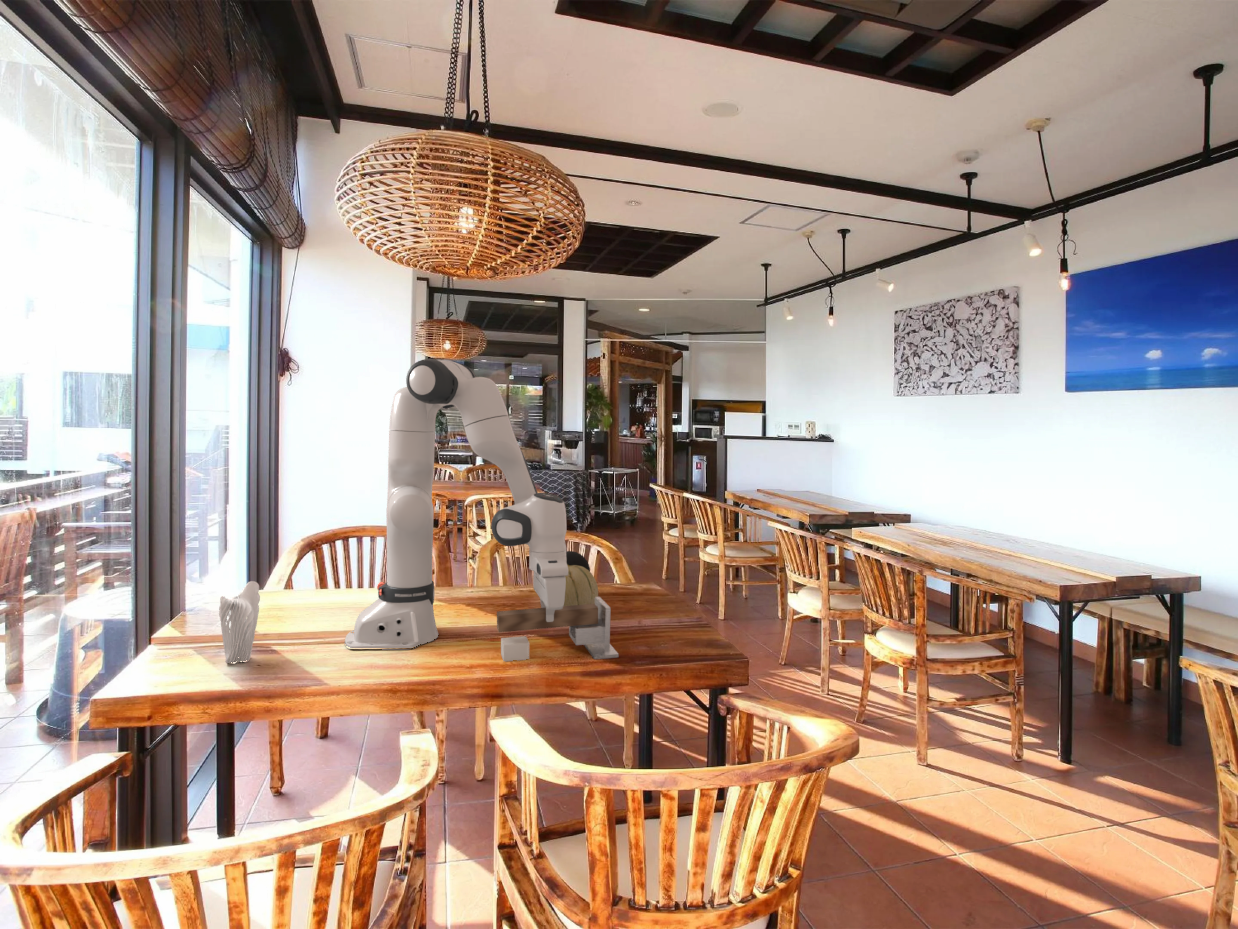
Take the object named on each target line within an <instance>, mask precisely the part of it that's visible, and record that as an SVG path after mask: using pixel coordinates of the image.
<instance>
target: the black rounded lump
mask: <svg viewBox="0 0 1238 929" xmlns="http://www.w3.org/2000/svg"><path fill="white" fill-rule="evenodd" d="M566 558H567V565H570V566H572V565H577V566H582V567H584V568H586V569H587V570H589V571H590V572H591V567H590V564H589V562H588V560H587V559H586V558H585V557H584V556H583V555H582V554H581V553H579V552H577V551H573V550H566Z"/></svg>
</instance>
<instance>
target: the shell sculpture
mask: <svg viewBox="0 0 1238 929" xmlns="http://www.w3.org/2000/svg"><path fill="white" fill-rule="evenodd" d="M259 591H260V584H259V583H258V582H257V581H255V580H251V581H248V582H247V583H246V585H245V586H244V587H243V589H242V590H241V592H240V593H239V594H238V595H236V596H234V597H225V596H223V595H222V596H220V600H219V602H220V603H219V608H218V610H219V611H218V612H219V613H218V616H219V620H220V628H221V634H222V644H223V649H224V656H225V663H226V664H227V663H231V662H232V663H233V662H236V661H237V662H238V661H239V662H240V661H242V662H243V661H246V660H247V662H249V661H248V660H250V659H251V655H252V649H253V645H254V640H255V635H256V628H257V625H258V618H259V613H260V612H259V611H260V605H259V603H260V600H261V595H260V593H259ZM238 657H239V658H238Z"/></svg>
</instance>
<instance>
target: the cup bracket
mask: <svg viewBox="0 0 1238 929" xmlns="http://www.w3.org/2000/svg"><path fill="white" fill-rule="evenodd" d="M595 605H596V606H597V607H598V624H590V625H579V626H568V636H569V637H570V639H571V641H573V643H574V644H575V646H582V645H583V646H584V647H585V649H586V650H587V651H588V653H589V654H590V655H591V657H592V658H593V659H594V660H603V659H604V660H605V659H615V658H619V652H618V651H617V650H616V649H615V648H614V647H613V645H612V644H611V606H609V605H608V604H607V602H606V601H605V600H603V599H602V597H601V596H598V597H595Z"/></svg>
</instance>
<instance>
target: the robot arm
mask: <svg viewBox="0 0 1238 929" xmlns="http://www.w3.org/2000/svg"><path fill="white" fill-rule="evenodd" d="M405 379H406V380H405V382H406V383H405V384H406V386H404V387H402V388H400V389H399V390H397V391H396V392H395V394H394V396H393V400H392V404H391V410H390V416H389V417H390V418H389V428H388V429H389V430H388V456H387V457H388V460H387V463H388V464H387V466H388V468H387V471H388V472H387V498H386V500H387V501H386V502H387V503H386V582H383V581H380V582H378V583H377V585H376V586H377V587H376V589H377V591H378V592H377V596H378V597H377V600H375V601H374V602H373V603H371V604H370V605H369V606H367V607H366V608H364V609H363V610H362V611H361V612H360V613H359V614H358V616H357V618H356V620H355V624H354V629H353V630H351V631H350V632H348V633H347V634H346V636H345V638H344V645H345V644H346V646H348V647H350V648H413V647H415V648H417V647H419V646H421V645H424V644H427V642H428V643H430V642H433V641H435V640H436V639H437V638H439V636H438V635H439V631H438V628H437V624H436V618H435V612H434V603H435V585H434V584H435V582H434V580H433V548H434V547H433V546H434V504H433V500H432V499H433V498H432V497H433V481H434V468H435V467H434V466H435V448H436V447H435V445H436V444H435V443H436V419H437V418H436V417H437V414H438V412H439V410H441V409H442V408H443V409H446V410H447V409H450V408H453V407H456V409H457V410H458V412H459V414H460V417H461V419H462V420H461V421H462V424H463V428H464V432H465V433H464V434H465V436H466V440H467V441H468V444H469V445H470V448H471V450H472V452H474V454H475V455H477V456H478V457H479V458H482V459H484V460H485V461H488V462H490V463H492V464H494V465H495V466H497V467H498V468H499V469H500V470H501V471H502V473H503V474H504V476H505V479H506V481H507V485H508V488H509V490H510V493H511V495H512V499H513V501H514V502H513V503H514V504H512V505H509V506H506V507H503V508H501V509H499V510H497V512H496V513H495V514H494V515H493V516H492V519H491V525H490V527H491V528H490V529H491V532H492V535H493V538H494V539H495V540H496V541H497V542H498V544H500V545H501V546H502V545H503V546H505V547H516V546H521V545H527V546H528V549H529V550H528V551H529V553H528V555H529V556H528V558H529V559H528V562H529V563H528V565H529V566H528V569H529V570H530V571H532V572H533V578H532V579H533V582H532V584H533V585H532V586H533V590H534V591H535V593H536V594H537V596H538V597H539V600H540V602H539V603H540V608H546V613H545V619H546V621H547V622H553V621H554V612H555V610H560V609H562V608H563V606H564V601H565V588H566V578H565V576H567V575H568V565H567V558H566V551H567V545H566V535H567V510H566V504H565V501H564V500H563V499H562V498H561V497H560V496H558V495H556V494H553V493H548V492H547V493H545V492H538V489H537V488H536V484H535V482H534V480H533V476H532V474H531V470H530V468H529V465H528V463H527V460H526V457H525V455H524V453H523V451H522V449H521V447H520V444H519V442H518V440H517V438H516V435H515V432H514V428H513V427H512V422H511V420H510V416H509V413H508V410H507V406H506V404H505V401H504V398H503V396H502V395H501V392H500V390H499V387H498V386H497V384H496V382H495V381H494V380H493V379H491V378H489V377H485V376H484V377H483V376H476V374H475V372H474V371H473V370H472V368H470V367H469V366H467V365H466V364H462V363H458V362H455V361H453V360H448V359H435V358H425V359H421V360H418V361H416V362H415V363H413V364H412V365H411V366H410V368H409V369H408V371H407V373H406V377H405ZM351 632H352V633H351ZM353 632H354V633H353ZM434 639H435V640H434ZM420 644H421V645H420ZM418 645H419V646H418ZM346 646H345V647H346ZM416 646H417V647H416ZM413 649H414V648H413Z"/></svg>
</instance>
